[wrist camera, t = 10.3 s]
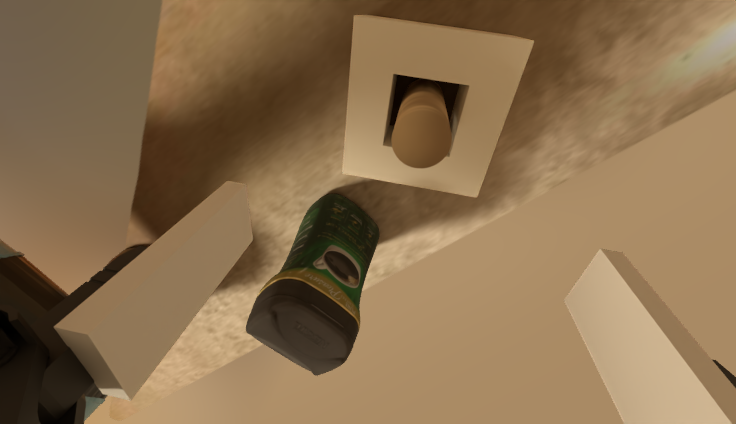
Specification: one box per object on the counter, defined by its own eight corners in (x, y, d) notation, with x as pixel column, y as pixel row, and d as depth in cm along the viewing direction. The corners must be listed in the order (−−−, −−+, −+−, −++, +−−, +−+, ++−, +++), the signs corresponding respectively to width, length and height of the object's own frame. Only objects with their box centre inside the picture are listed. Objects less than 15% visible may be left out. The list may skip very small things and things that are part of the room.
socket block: (354, 150, 35) (342, 173, 30) (367, 14, 27) (353, 15, 22) (469, 170, 34) (476, 197, 29) (514, 35, 26) (534, 40, 22)
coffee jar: (298, 216, 41) (221, 338, 26) (334, 181, 37) (268, 299, 22) (351, 259, 44) (309, 392, 28) (390, 230, 40) (366, 366, 25)
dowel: (399, 116, 32) (387, 163, 22) (406, 75, 30) (396, 106, 20) (438, 123, 32) (443, 173, 22) (448, 82, 29) (459, 116, 19)
